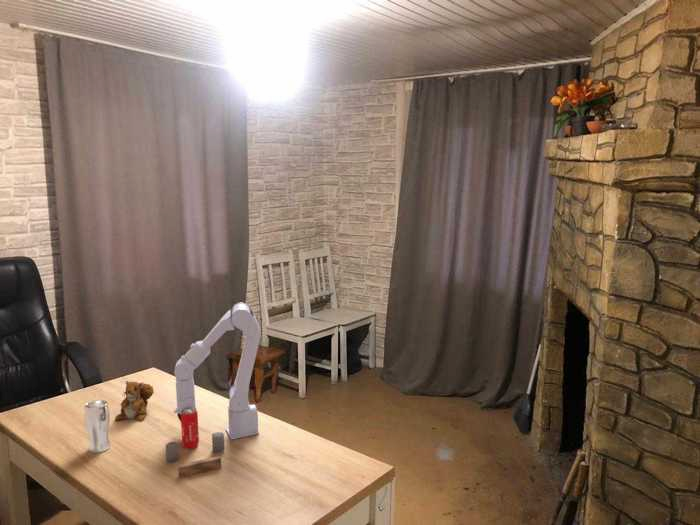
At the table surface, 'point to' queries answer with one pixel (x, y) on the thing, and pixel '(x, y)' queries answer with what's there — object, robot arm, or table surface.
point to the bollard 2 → (218, 442)
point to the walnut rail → (199, 466)
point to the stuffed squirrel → (135, 401)
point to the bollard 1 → (172, 452)
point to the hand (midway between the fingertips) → (187, 433)
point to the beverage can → (189, 427)
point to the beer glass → (97, 425)
